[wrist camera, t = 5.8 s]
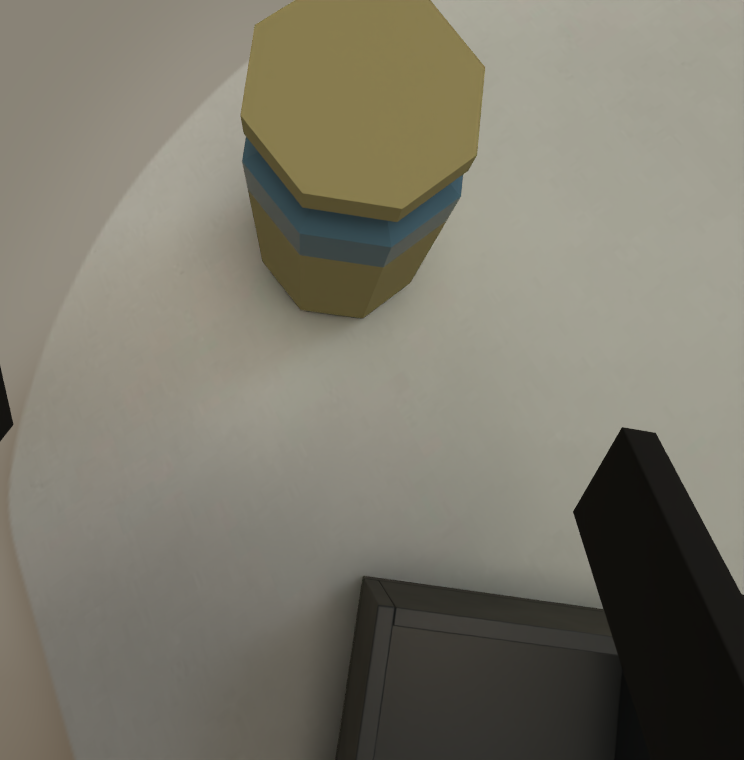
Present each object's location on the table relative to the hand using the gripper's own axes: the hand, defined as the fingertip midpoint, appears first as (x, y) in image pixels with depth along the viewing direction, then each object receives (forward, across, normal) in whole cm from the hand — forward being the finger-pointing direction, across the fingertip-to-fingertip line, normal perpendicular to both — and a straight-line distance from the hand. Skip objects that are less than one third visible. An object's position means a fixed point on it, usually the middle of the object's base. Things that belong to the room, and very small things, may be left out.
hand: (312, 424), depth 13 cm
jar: (+23, 0, -6) cm, 24 cm away
